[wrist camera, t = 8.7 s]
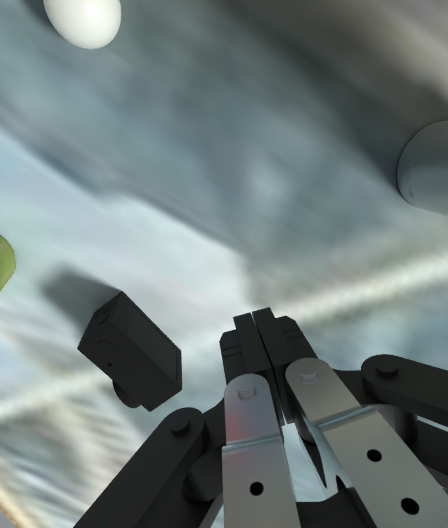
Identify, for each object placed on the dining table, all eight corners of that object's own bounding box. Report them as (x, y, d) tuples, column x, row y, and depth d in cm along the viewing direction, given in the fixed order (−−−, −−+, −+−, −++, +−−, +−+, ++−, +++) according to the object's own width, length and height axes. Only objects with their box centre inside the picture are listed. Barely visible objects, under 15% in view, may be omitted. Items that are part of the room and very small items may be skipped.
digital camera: (84, 318, 38) (65, 355, 31) (121, 290, 37) (110, 322, 31) (146, 375, 41) (140, 419, 35) (181, 350, 41) (182, 390, 34)
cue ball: (131, 36, 25) (132, 40, 30) (99, -63, 22) (105, -41, 27) (59, 56, 25) (71, 58, 29) (17, -41, 22) (37, -23, 26)
